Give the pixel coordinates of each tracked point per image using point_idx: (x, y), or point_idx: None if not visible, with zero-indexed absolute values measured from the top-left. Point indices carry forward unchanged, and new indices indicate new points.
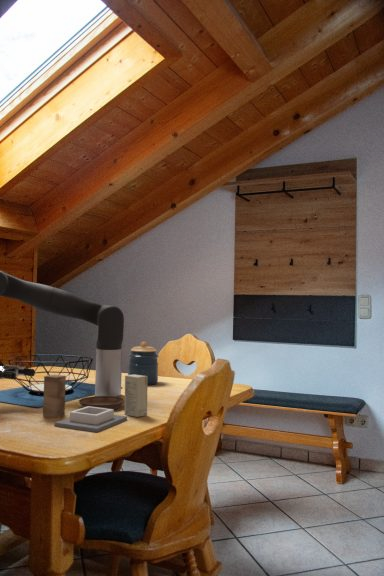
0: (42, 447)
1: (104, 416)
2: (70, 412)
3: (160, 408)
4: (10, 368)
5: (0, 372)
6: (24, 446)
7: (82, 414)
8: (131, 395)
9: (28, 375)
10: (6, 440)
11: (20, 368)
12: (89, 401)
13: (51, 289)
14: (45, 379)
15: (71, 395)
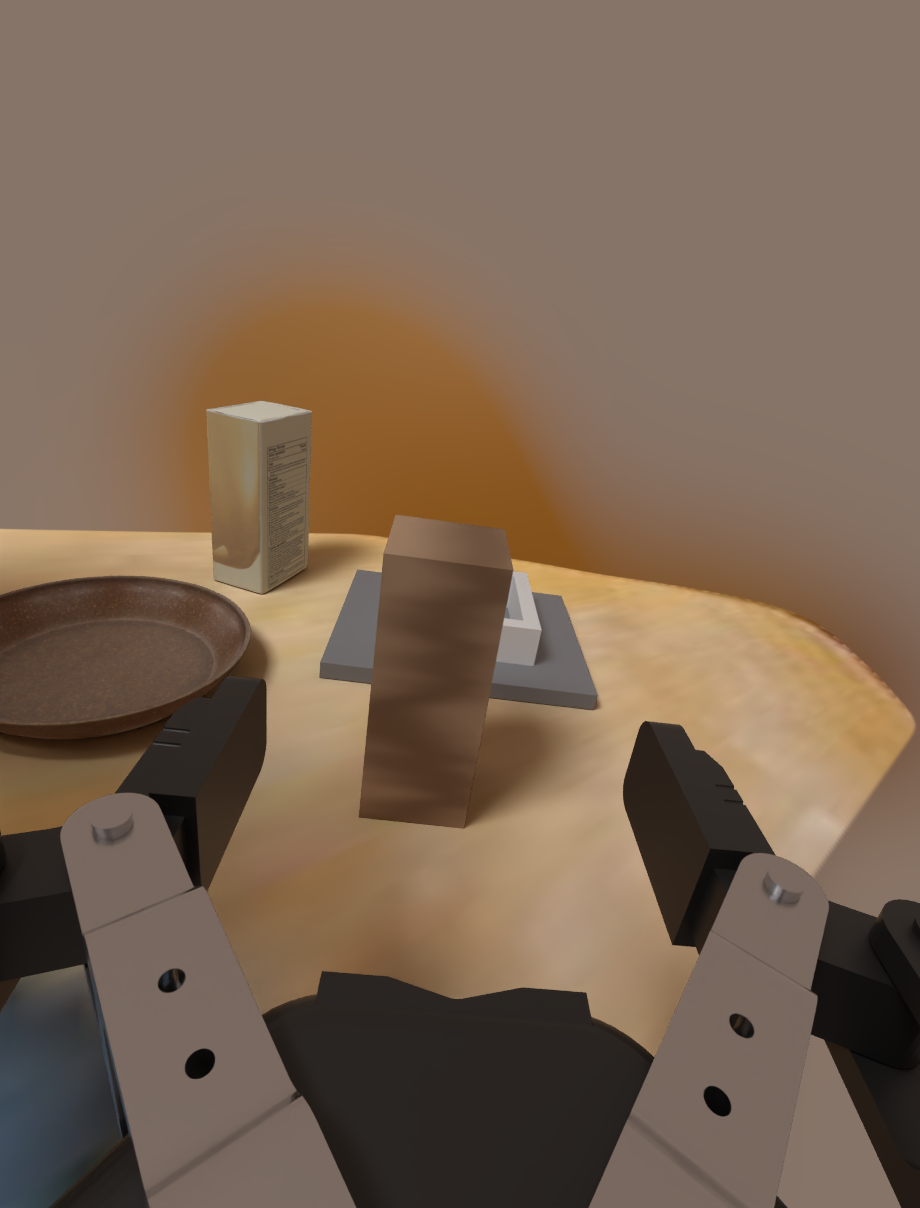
0: (794, 659)
1: None
2: (540, 630)
3: (113, 542)
4: (365, 1023)
5: (827, 936)
6: (843, 692)
7: (532, 603)
8: (291, 499)
9: (236, 817)
10: (883, 758)
11: (184, 873)
12: None
13: None
14: (507, 588)
15: None
